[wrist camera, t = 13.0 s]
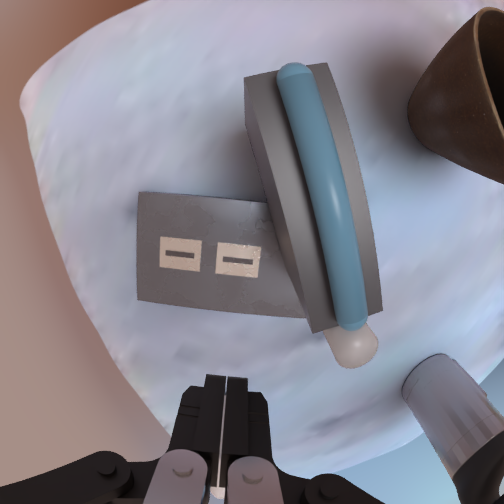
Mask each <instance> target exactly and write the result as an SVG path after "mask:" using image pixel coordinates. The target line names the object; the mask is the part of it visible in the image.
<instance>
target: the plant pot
mask: <svg viewBox="0 0 504 504" xmlns="http://www.w3.org/2000/svg"><path fill="white" fill-rule="evenodd" d="M408 119H409V123H410V126H411V129H412V131H413V133H414V134H415V136H416V137H417V139H418V140H419V141H420V142H421V143H422V144H423V145H424V146H425V147H427V148H428V149H430V150H432V151H433V152H435V153H437V154H438V155H440V156H442V157H444V158H446V159H448V160H450V161H452V162H454V163H456V164H458V165H460V166H462V167H464V168H466V169H468V170H471V171H473V172H475V173H478V174H480V175H482V176H485V177H487V178H489V179H492V180H494V181H496V182H499V183H502V184H504V11H502V10H500V9H497V8H493V7H485V8H482V9H481V10H480V11H478V12H477V13H476V14H475V15H474V16H473V17H472V18H471V19H470V20H469V21H467V22H466V23H465V24H464V25H463V26H462V27H461V28H460V29H459V30H458V31H457V32H456V33H455V34H454V35H453V36H452V37H451V38H450V40H449V41H448V42H447V43H446V44H445V45H444V47H443V48H442V49H441V50H440V51H439V53H438V54H437V55H436V57H435V58H434V59H433V61H432V62H431V63H430V65H429V66H428V68H427V69H426V71H425V72H424V74H423V75H422V77H421V79H420V80H419V82H418V84H417V86H416V87H415V89H414V91H413V94H412V96H411V98H410V100H409V103H408Z"/></svg>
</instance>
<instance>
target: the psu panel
mask: <svg viewBox="0 0 504 504" xmlns="http://www.w3.org/2000/svg"><path fill="white" fill-rule="evenodd" d="M137 297H138V300H141V301H148V302H154V303H161V304H168V305H175V306H183V307H191V308H199V309H207V310H216V311H225V312H234V313H244V314H255V315H266V316H279V317H292V318H306V316H305V313H304V311H303V308H302V306H301V303H300V301H299V299H298V296H297V294H296V291H295V289H294V286H293V284H292V282H291V279H290V277H289V274H288V272H287V270H286V267H285V265H284V261H283V257H282V253H281V250H280V246H279V242H278V238H277V235H276V231H275V227H274V224H273V220H272V216H271V213H270V209H269V205H268V203H266V202H257V201H248V200H239V199H229V198H219V197H208V196H197V195H185V194H171V193H157V192H139V199H138V219H137Z"/></svg>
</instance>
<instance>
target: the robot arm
mask: <svg viewBox="0 0 504 504" xmlns="http://www.w3.org/2000/svg"><path fill="white" fill-rule="evenodd" d="M225 383H226V376H219V375H210V374H206V379H205V384H204V387H198V386H190V387H189V388H188V389H187V390H186V391H185V392H184V393H183V395H182V398H181V402H180V407H179V410H178V415H177V417H176V421H175V425H174V429H173V433H172V437H171V441H170V444H169V448H168V450H167V451H166V453H165V454H164V455H163V456H162V457H160V458H158V459H156V460H153V461H148V462H127V461H126V459H124V458H123V457H122V456H121V455H119V454H117V453H114V452H111V451H99V452H96V453H93V454H91V455H88V456H86V457H84V458H82V459H79V460H77V461H74V462H72V463H69V464H67V465H65V466H62V467H59V468H57V469H54V470H51V471H49V472H46V473H43V474H40V475H37V476H34V477H31V478H29V479H25V480H22V481H19V482H16V483H12V484H9V485H5V486H2V487H0V504H208V502H209V498H210V488H211V487H217V478H218V466H219V453H220V441H221V430H222V418H223V407H224V395H225ZM402 395H403V397H404V399H405V401H406V402H407V404H408V406H409V407H410V409H411V411H412V412H413V414H414V416H415V417H416V419H417V421H418V422H419V424H420V426H421V427H422V429H423V430H424V432H425V434H426V435H427V437H428V439H429V440H430V442H431V444H432V445H433V447H434V449H435V451H436V453H437V454H438V456H439V457H440V459H441V461H442V463H443V464H444V466H445V468H446V470H447V472H448V474H449V475H450V477H451V479H452V481H453V483H454V484H455V486H456V489H457V493H458V497H459V500H460V502H461V504H504V494H503V495H502V496H501V497H500V495H499V486H500V484H501V481H502V479H503V476H504V417H503V416H502V415H501V414H500V413H499V411H498V410H497V409H496V408H495V407H494V406H493V405H492V403H491V402H490V401H489V400H488V399H487V394H486V393H485V391H484V390H483V389H482V388H481V387H480V386H479V385H478V384H477V383H476V382H475V380H474V379H473V378H472V377H471V376H470V375H469V374H468V373H467V372H466V371H465V370H464V369H463V368H462V367H461V366H460V365H459V364H458V363H457V362H456V360H452V359H451V358H450V357H449V356H447V355H444V354H438V355H435V356H432V357H430V358H428V359H426V360H425V361H423V362H422V363H421V364H419V365H418V366H417V367H416V368H415V369H414V370H413V371H412V372H411V374H410V375H409V376H408V378H407V380H406V381H405V383H404V386H403V390H402ZM219 487H222V488H225V497H224V504H385V503H383V502H381V501H380V500H378V499H376V498H374V497H373V496H371V495H370V494H368V493H366V492H365V491H363V490H362V489H360V488H358V487H357V486H355V485H353V484H352V483H351V482H349V481H348V480H346V479H345V478H343V477H341V476H339V475H336V474H321V475H317V476H315V477H313V478H312V479H311V480H310V479H305V478H300V477H296V476H292V475H289V474H287V473H285V472H283V471H281V470H280V469H279V468H278V467H277V466H276V465H275V463H274V461H273V458H272V449H271V437H270V426H269V415H268V403H267V401H266V399H265V398H264V396H263V395H262V393H261V392H248V379H247V378H240V377H229V376H228V380H227V391H226V403H225V414H224V426H223V439H222V452H221V465H220V478H219Z"/></svg>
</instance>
